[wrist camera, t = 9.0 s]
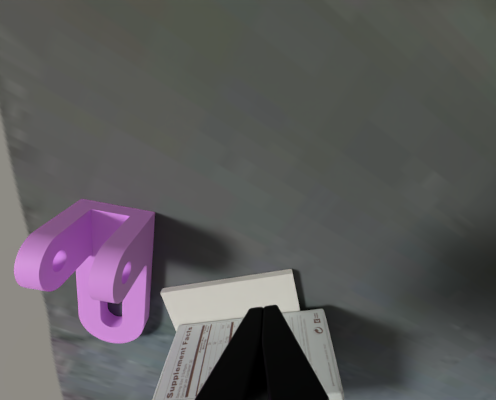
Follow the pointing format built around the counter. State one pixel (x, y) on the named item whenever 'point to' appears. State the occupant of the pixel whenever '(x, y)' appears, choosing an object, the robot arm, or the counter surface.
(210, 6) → the counter surface
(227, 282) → the mat
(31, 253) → the bracket
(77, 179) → the counter surface
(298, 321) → the supplement box
